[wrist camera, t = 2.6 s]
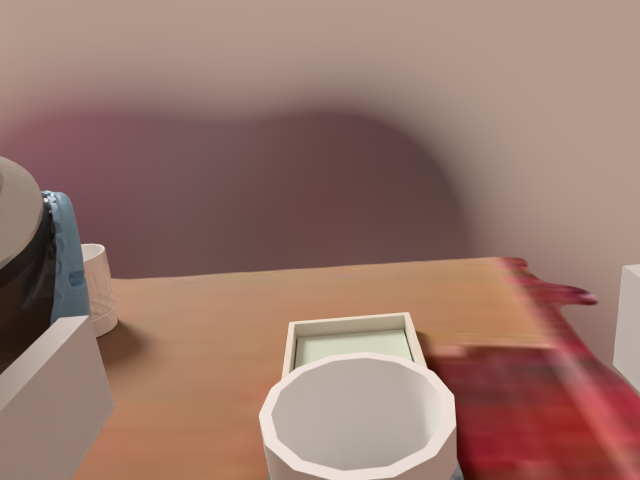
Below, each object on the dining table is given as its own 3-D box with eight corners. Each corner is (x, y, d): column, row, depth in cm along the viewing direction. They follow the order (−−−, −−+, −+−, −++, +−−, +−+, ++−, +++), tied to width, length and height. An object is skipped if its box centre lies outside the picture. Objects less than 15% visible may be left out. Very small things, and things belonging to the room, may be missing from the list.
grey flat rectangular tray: (532, 720, 23) (534, 691, 22) (242, 733, 23) (235, 706, 23) (409, 328, 56) (408, 312, 55) (291, 337, 57) (289, 322, 56)
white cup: (79, 351, 59) (56, 272, 55) (43, 336, 63) (20, 262, 60) (136, 320, 65) (118, 247, 61) (99, 309, 69) (80, 240, 66)
